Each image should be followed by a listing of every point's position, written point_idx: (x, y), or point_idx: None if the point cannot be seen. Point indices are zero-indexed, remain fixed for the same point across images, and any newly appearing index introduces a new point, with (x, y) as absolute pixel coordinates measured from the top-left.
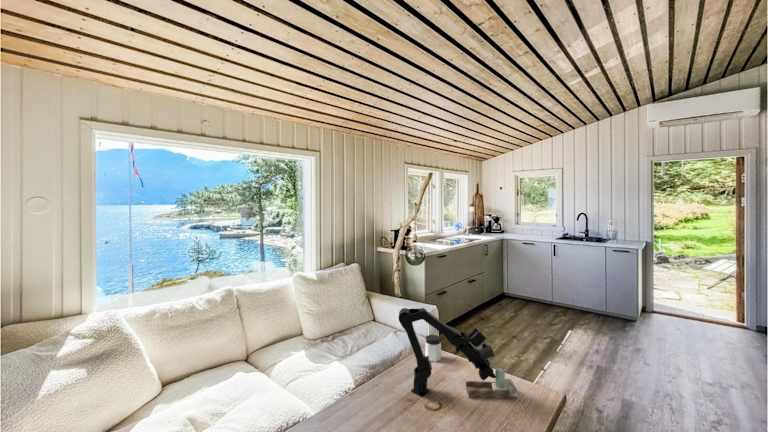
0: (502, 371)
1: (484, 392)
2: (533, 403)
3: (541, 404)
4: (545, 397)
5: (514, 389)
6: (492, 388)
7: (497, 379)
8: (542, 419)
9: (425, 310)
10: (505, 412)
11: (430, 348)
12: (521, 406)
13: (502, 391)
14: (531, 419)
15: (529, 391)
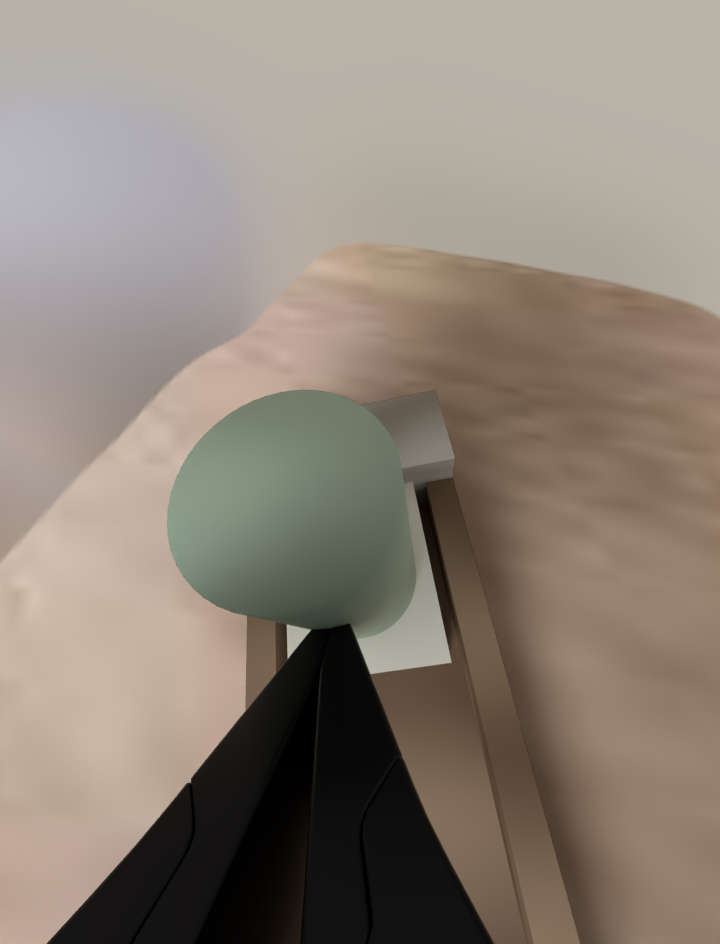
0: (324, 435)
1: (555, 874)
2: (445, 352)
3: (441, 313)
4: (349, 292)
5: (441, 413)
6: None
7: (390, 599)
8: (641, 316)
9: None
10: (714, 577)
11: None
12: (523, 427)
13: (470, 558)
14: (691, 376)
15: (290, 364)
